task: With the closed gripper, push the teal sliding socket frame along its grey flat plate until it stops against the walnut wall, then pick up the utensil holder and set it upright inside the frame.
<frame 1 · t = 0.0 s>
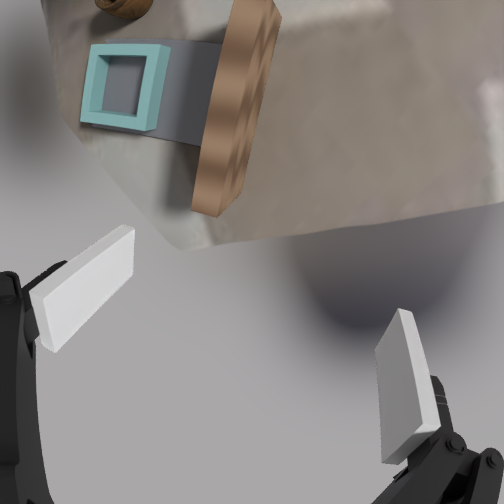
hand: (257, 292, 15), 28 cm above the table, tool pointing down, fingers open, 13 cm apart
socket frame: (122, 84, 37), point 2 cm above the table, slide at 0.0 cm
utensil holder: (137, 2, 33), on the table
grey flat plate: (160, 87, 38), on the table
backstop wall: (249, 102, 37), on the table
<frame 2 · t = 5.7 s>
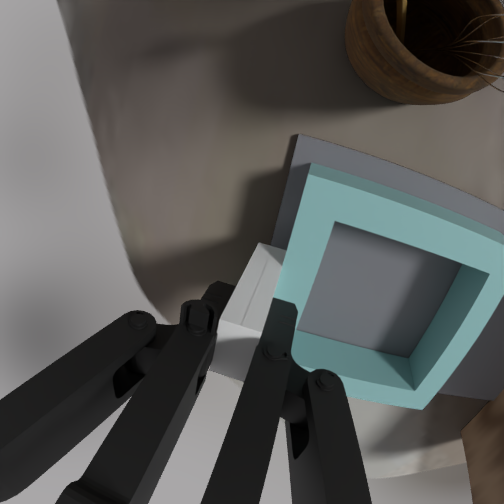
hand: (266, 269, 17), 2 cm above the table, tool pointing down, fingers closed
socket frame: (382, 306, 16), point 2 cm above the table, slide at 1.0 cm, touching gripper
utensil holder: (398, 48, 12), on the table
grey flat plate: (437, 304, 17), on the table
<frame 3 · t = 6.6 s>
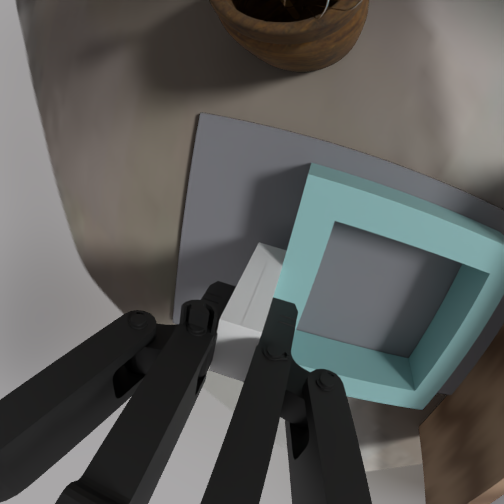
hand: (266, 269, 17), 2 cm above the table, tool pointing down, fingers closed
socket frame: (382, 306, 16), point 2 cm above the table, slide at 6.1 cm, touching gripper
utensil holder: (298, 20, 13), on the table
grey flat plate: (364, 283, 18), on the table
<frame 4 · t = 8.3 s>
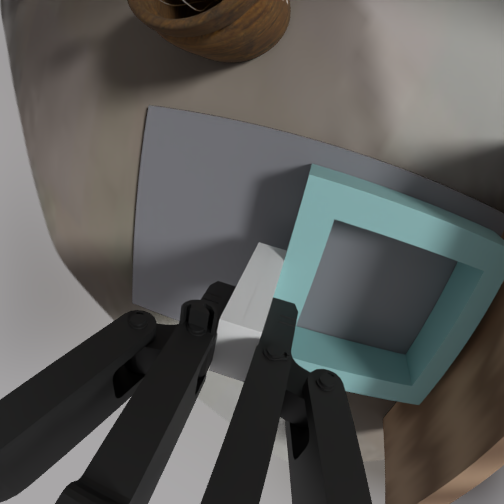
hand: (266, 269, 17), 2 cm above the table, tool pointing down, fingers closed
socket frame: (380, 302, 17), point 2 cm above the table, slide at 9.7 cm, touching gripper
utensil holder: (236, 15, 14), on the table
grey flat plate: (306, 263, 19), on the table
backstop wall: (475, 314, 18), on the table
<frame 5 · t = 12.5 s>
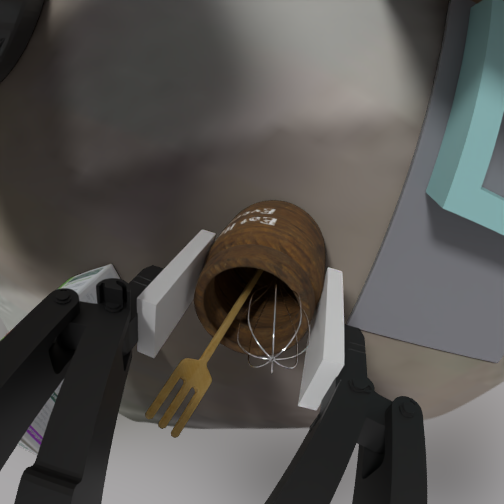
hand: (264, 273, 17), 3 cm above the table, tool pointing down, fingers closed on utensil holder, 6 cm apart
utensil holder: (275, 244, 20), on the table, touching gripper
syrup box: (108, 298, 25), on the table
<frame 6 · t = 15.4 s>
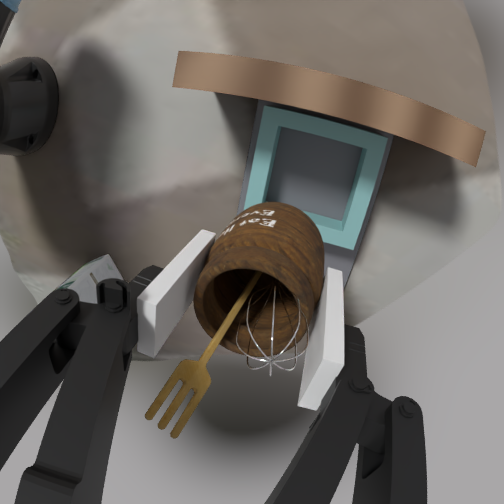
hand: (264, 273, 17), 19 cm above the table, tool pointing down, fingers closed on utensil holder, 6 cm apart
socket frame: (312, 176, 31), point 2 cm above the table, slide at 9.8 cm
utensil holder: (274, 246, 20), point 16 cm above the table, touching gripper
syrup box: (107, 274, 45), on the table
grey flat plate: (303, 212, 35), on the table
backstop wall: (330, 99, 29), on the table
when the fingers open (5 cm above the table, at t = 18.5 s): utensil holder drops 1 cm, resting on grey flat plate.
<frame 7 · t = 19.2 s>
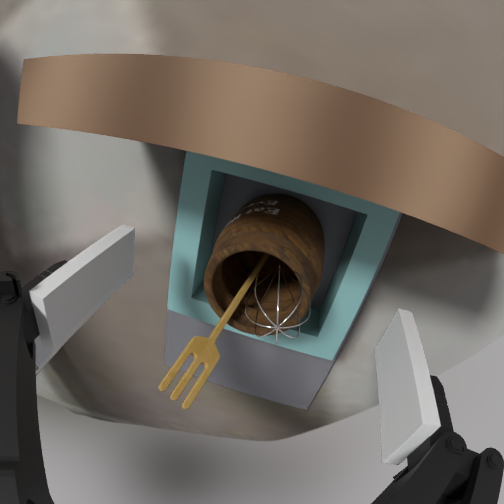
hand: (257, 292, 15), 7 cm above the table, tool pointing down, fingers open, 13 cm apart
socket frame: (274, 250, 19), point 2 cm above the table, slide at 9.8 cm
utensil holder: (277, 235, 21), resting on grey flat plate
syrup box: (41, 329, 34), on the table
grey flat plate: (262, 294, 23), on the table
backstop wall: (311, 118, 18), on the table
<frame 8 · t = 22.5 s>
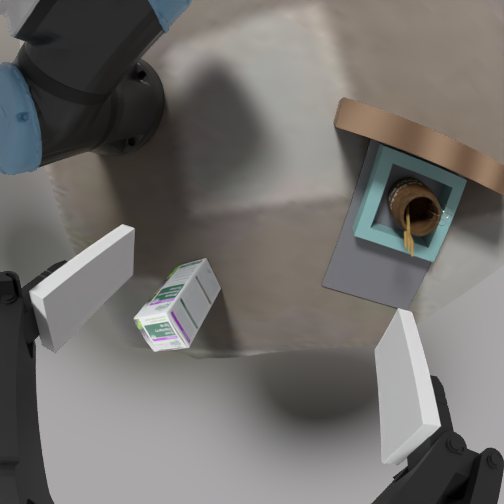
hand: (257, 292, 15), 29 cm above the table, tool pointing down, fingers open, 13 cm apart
socket frame: (409, 204, 37), point 2 cm above the table, slide at 9.8 cm
utensil holder: (406, 198, 38), resting on grey flat plate
syrup box: (199, 276, 51), on the table
grey flat plate: (394, 230, 41), on the table
backstop wall: (425, 143, 35), on the table
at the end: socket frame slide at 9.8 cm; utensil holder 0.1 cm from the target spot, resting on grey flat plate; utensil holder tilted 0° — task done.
